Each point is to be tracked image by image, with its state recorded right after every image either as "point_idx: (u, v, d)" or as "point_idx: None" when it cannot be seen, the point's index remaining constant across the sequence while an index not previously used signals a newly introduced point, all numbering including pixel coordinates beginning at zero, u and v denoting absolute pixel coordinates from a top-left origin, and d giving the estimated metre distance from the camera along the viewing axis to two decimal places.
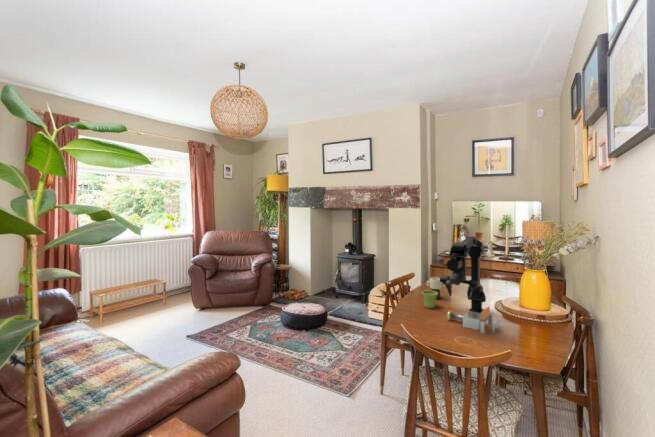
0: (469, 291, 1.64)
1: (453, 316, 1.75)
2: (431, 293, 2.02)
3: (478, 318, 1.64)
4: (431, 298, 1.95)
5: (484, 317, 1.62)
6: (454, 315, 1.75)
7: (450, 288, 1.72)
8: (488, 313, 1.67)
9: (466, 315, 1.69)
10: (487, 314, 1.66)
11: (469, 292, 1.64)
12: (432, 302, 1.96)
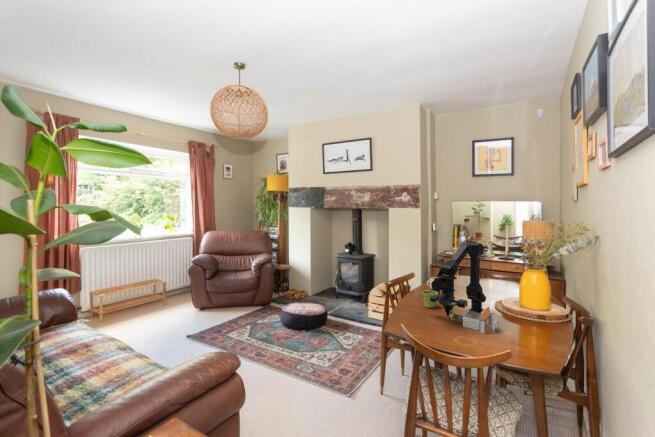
0: (448, 309, 1.76)
1: (456, 317, 1.74)
2: (431, 293, 2.02)
3: (478, 318, 1.64)
4: None
5: (484, 317, 1.62)
6: (457, 316, 1.74)
7: None
8: (488, 313, 1.67)
9: (466, 315, 1.69)
10: (487, 314, 1.66)
11: (449, 310, 1.76)
12: (432, 302, 1.96)
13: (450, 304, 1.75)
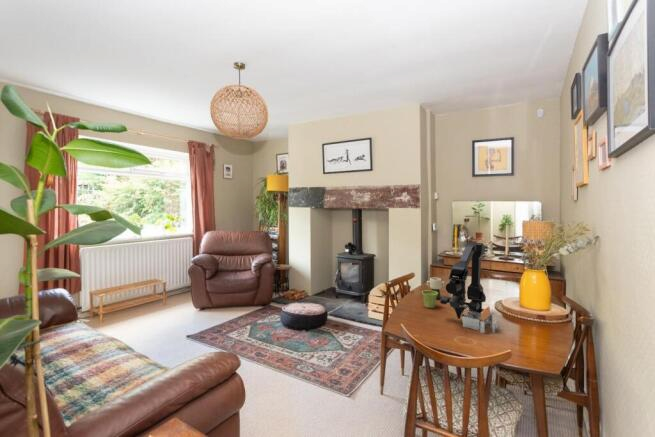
0: (459, 311, 1.72)
1: None
2: (431, 293, 2.02)
3: (478, 318, 1.64)
4: (431, 298, 1.95)
5: (484, 317, 1.62)
6: None
7: None
8: (488, 313, 1.67)
9: (466, 315, 1.69)
10: (487, 314, 1.66)
11: (460, 312, 1.72)
12: (432, 302, 1.96)
13: (461, 306, 1.71)
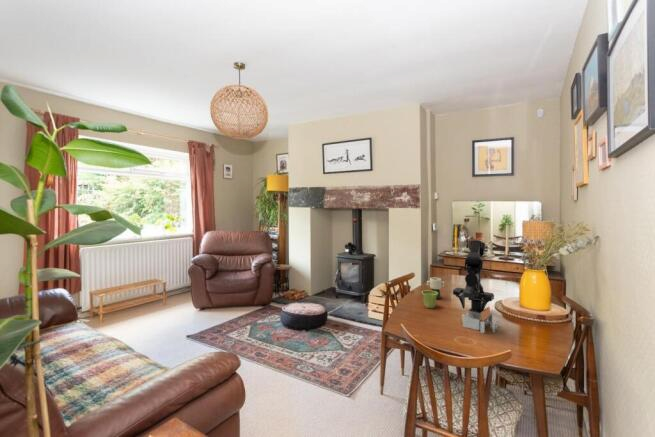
0: (482, 304, 1.65)
1: None
2: (431, 293, 2.02)
3: (478, 318, 1.64)
4: (431, 298, 1.95)
5: (484, 317, 1.62)
6: None
7: (463, 301, 1.72)
8: (488, 313, 1.67)
9: (466, 315, 1.69)
10: (487, 314, 1.66)
11: (483, 305, 1.64)
12: (432, 302, 1.96)
13: None
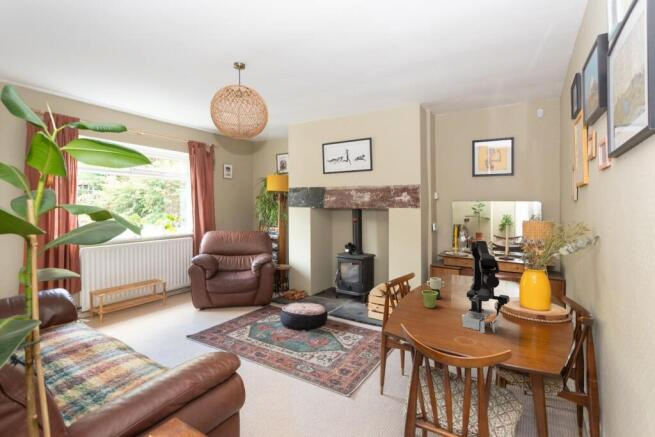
0: (497, 307, 1.60)
1: None
2: (431, 293, 2.02)
3: (478, 318, 1.64)
4: (431, 298, 1.95)
5: None
6: None
7: (477, 303, 1.68)
8: None
9: (466, 315, 1.69)
10: None
11: (498, 308, 1.60)
12: (432, 302, 1.96)
13: None
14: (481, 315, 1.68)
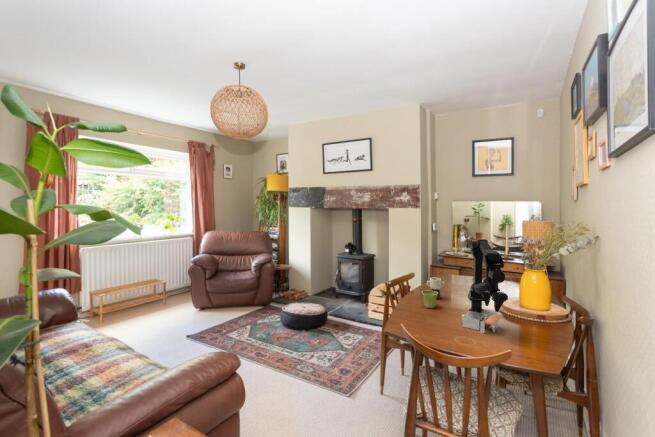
0: (494, 303, 1.58)
1: None
2: (431, 293, 2.02)
3: (478, 318, 1.64)
4: (431, 298, 1.95)
5: None
6: None
7: (487, 298, 1.68)
8: None
9: (466, 315, 1.69)
10: None
11: (494, 304, 1.57)
12: (432, 302, 1.96)
13: None
14: (481, 315, 1.68)
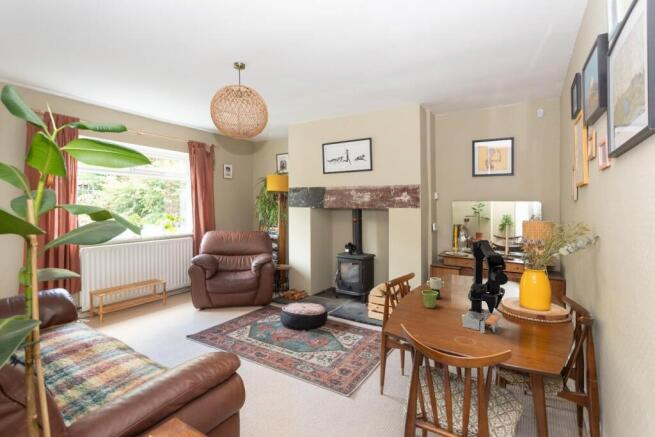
0: None
1: None
2: (431, 293, 2.02)
3: (478, 318, 1.64)
4: (431, 298, 1.95)
5: None
6: None
7: (496, 301, 1.66)
8: None
9: (466, 315, 1.69)
10: None
11: None
12: (432, 302, 1.96)
13: None
14: (481, 315, 1.68)
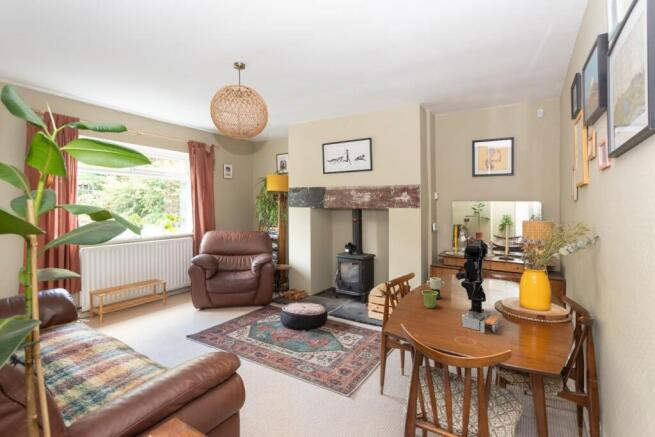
0: None
1: None
2: (431, 293, 2.02)
3: (478, 318, 1.64)
4: (431, 298, 1.95)
5: None
6: None
7: (475, 287, 1.82)
8: None
9: (466, 315, 1.69)
10: None
11: None
12: (432, 302, 1.96)
13: None
14: (481, 315, 1.68)
